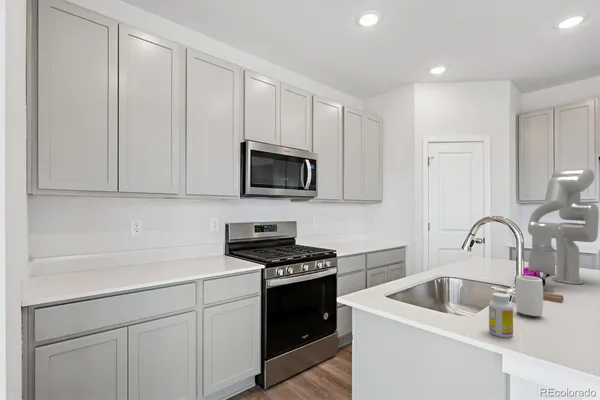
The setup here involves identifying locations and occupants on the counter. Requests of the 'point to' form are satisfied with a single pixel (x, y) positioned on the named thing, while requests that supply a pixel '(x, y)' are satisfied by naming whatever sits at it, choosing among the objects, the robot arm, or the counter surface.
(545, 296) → the plank
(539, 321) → the counter surface
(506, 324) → the supplement bottle
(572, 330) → the counter surface
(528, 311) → the cup
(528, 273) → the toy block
